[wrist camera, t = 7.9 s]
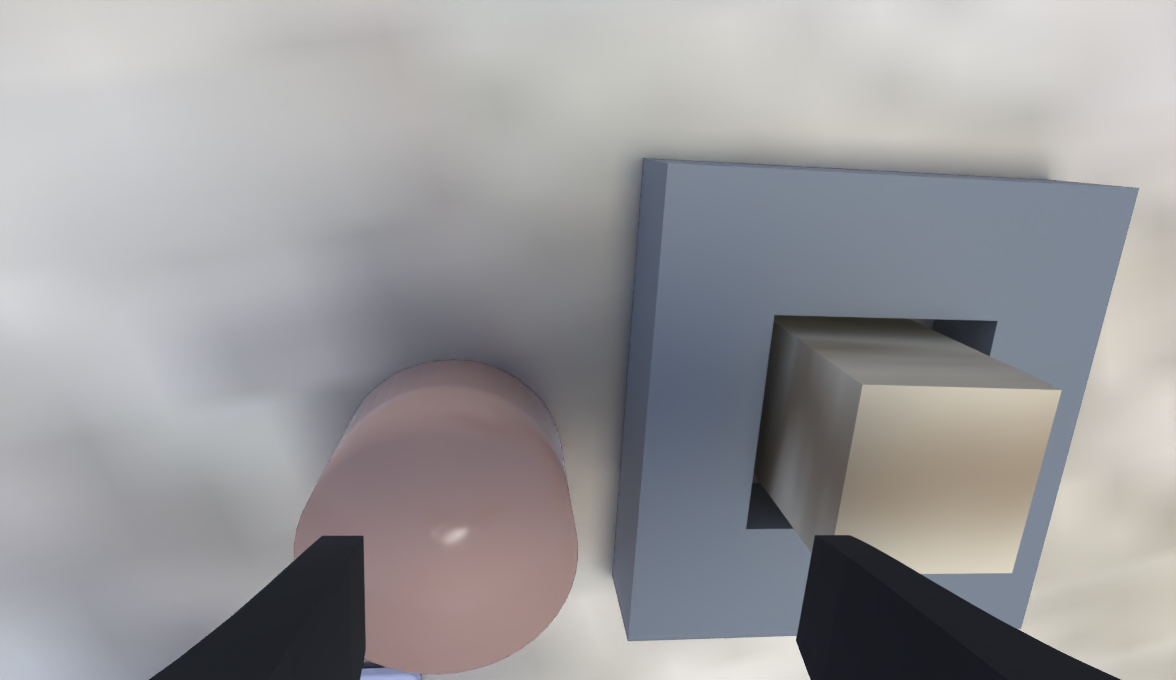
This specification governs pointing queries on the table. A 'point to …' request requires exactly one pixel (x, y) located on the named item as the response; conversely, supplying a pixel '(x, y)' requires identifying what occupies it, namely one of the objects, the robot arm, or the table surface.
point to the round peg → (450, 516)
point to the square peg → (901, 441)
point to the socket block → (837, 289)
